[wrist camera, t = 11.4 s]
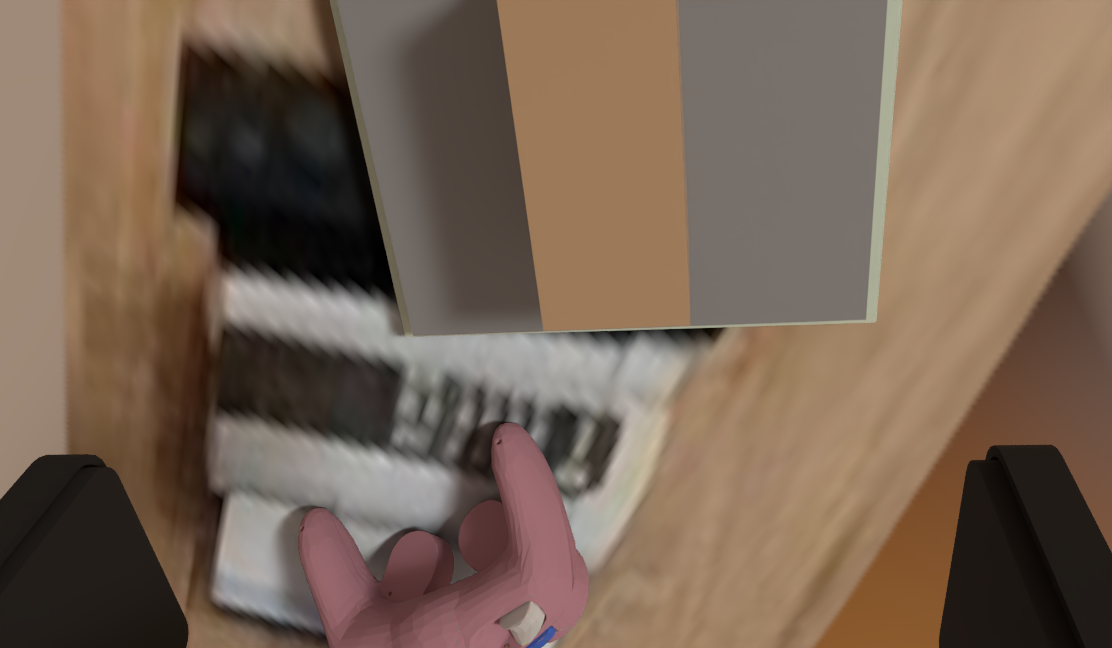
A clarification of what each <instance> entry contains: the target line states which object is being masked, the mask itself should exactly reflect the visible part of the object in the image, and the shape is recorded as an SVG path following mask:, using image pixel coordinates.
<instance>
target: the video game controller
mask: <svg viewBox="0 0 1112 648" xmlns="http://www.w3.org/2000/svg"><path fill="white" fill-rule="evenodd" d="M491 456H492V469H493V472H494V476H495V479H496V483H497V486H498V490H499V493H500V497H501V500H502V503H500V502H498V501H495V500H488V501H484V502H482V503H480V504H478V505H476V506H475V507H474V508H473V509H472V510H471V511H470V512H469V513H468V514H467V515H466V517H465V518H464V520H463V522H462V524H461V526H460V531H459V548H460V552H461V554H462V556H463V558H464V560H465V561H466V563H467V564H468V565H469V566H470V567H472V568H473V569H475V570H476V571H478V573H476V574H474V575H472V576H470V577H467V578H465V579H463V580H460V581H458V582H456V583H453V584H451V585H450V582H451V579H452V575H453V570H454V557H453V553H452V550H451V548H450V546H449V544H448V543H447V542H446V541H445V540H443V539H442V538H440V537H437V536H435V535H433V534H430V533H427V532H424V531H413V532H410V533H408V534H406V535H405V536H403V537H401V539H400V540H399V541H398V542H397V544H396V545H395V546H394V548H393V550H392V553H391V555H390V558H389V561H388V565H387V568H386V571H385V574H384V576H383V579H382V581H381V582H380V581H378V580H377V579H376V578H375V577H374V576H373V574H372V573H371V571H370V569H369V568H368V566H367V565H366V563H365V561H364V559H363V557H362V555H361V553H360V551H359V549H358V547H357V545H356V543H355V541H354V539H353V538H352V537H351V535H350V534H349V532H348V531H347V529H346V528H345V527H344V525H343V524H342V522H341V521H340V520H339V519H338V518H337V517H336V516H335V515H334V514H332V513H331V512H329V511H328V510H327V509H325V508H313V509H312V510H310V511H308V512H307V513H306V515H305V516H304V518H303V520H302V523H301V525H300V530H299V536H298V544H299V554H300V559H301V562H302V566H303V569H304V572H305V575H306V578H307V581H308V584H309V586H310V589H311V592H312V595H313V598H314V600H315V603H316V606H317V609H318V611H319V615H320V618H321V621H322V624H323V627H324V631H325V634H326V637H327V640H328V643H329V647H330V648H541V647H542V646H544V645H545V644H546V643H551V642H553V641H555V640H557V639H559V638H561V637H562V636H564V635H565V634H566V633H567V632H568V631H570V630H571V629H572V628H573V627H574V626H575V624H576V623H577V621H578V620H579V618H580V617H581V615H582V613H583V610H584V608H585V606H586V602H587V598H588V590H589V579H588V572H587V567H586V565H585V562H584V560H583V557H582V556H581V555H580V553H579V552H578V551H577V549H576V547H575V541H574V537H573V534H572V531H571V527H570V524H569V520H568V517H567V514H566V510H565V507H564V504H563V500H562V497H561V494H560V492H559V489H558V487H557V484H556V481H555V479H554V476H553V474H552V472H551V470H550V468H549V465H548V463H547V461H546V459H545V457H544V455H543V454H542V452H541V450H540V449H539V447H538V446H537V444H536V443H535V441H534V440H533V438H532V437H531V436H530V435H529V434H528V433H527V432H526V431H525V430H524V428H523V427H522V426H520V425H519V424H517V423H504V424H501V425H499V426H498V427H497V428H496V430H495V433H494V436H493V440H492V448H491Z"/></svg>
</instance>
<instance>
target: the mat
mask: <svg viewBox="0 0 1112 648" xmlns="http://www.w3.org/2000/svg"><path fill="white" fill-rule="evenodd" d="M329 1H330V5H331V9H332V14H333V18H334V23H335V27H336V32H337V36H338V41H339V45H340V50H341V54H342V58H343V63H344V67H345V72H346V76H347V81H348V85H349V90H350V94H351V98H352V103H353V107H354V112H355V116H356V121H357V125H358V130H359V134H360V138H361V143H362V147H363V152H364V156H365V161H366V165H367V170H368V174H369V179H370V183H371V187H372V192H373V196H374V201H375V205H376V210H377V214H378V219H379V223H380V227H381V232H382V236H383V241H384V245H385V250H386V254H387V259H388V263H389V267H390V272H391V276H392V281H393V285H394V290H395V294H396V299H397V303H398V307H399V312H400V316H401V321H402V325H403V330H404V334H405V337H420V336H413V333H412V329H411V325H410V320H409V316H408V311H407V307H406V302H405V298H404V294H403V289H402V285H401V280H400V276H399V272H398V267H397V263H396V258H395V254H394V250H393V245H392V241H391V236H390V232H389V228H388V223H387V219H386V214H385V210H384V206H383V201H382V197H381V192H380V188H379V183H378V179H377V175H376V170H375V166H374V161H373V157H372V153H371V148H370V144H369V139H368V135H367V131H366V126H365V122H364V117H363V113H362V109H361V104H360V100H359V95H358V91H357V86H356V82H355V78H354V73H353V69H352V64H351V60H350V56H349V51H348V47H347V42H346V38H345V34H344V29H343V25H342V20H341V16H340V12H339V7H338V3H337V0H329ZM902 1H903V0H888V1H887V16H886V31H885V46H884V61H883V75H882V90H881V105H880V120H879V135H878V149H877V164H876V179H875V194H874V209H873V224H872V238H871V253H870V268H869V283H868V298H867V312H866V320H844V321H817V322H789V323H762V324H734V325H707V326H679V327H652V328H624V329H597V330H570V331H542V332H515V333H487V334H518V333H550V332H583V331H615V330H648V329H680V328H713V327H745V326H778V325H810V324H843V323H875V322H876V318H877V306H878V294H879V281H880V269H881V257H882V245H883V233H884V220H885V208H886V196H887V184H888V172H889V159H890V147H891V135H892V123H893V111H894V98H895V86H896V74H897V62H898V50H899V37H900V25H901V13H902ZM460 335H485V334H460ZM432 336H452V335H432Z"/></svg>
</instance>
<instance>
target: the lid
mask: <svg viewBox="0 0 1112 648" xmlns="http://www.w3.org/2000/svg"><path fill="white" fill-rule="evenodd" d="M887 1H888V0H337V3H338V7H339V12H340V16H341V20H342V25H343V29H344V34H345V38H346V42H347V47H348V51H349V56H350V60H351V64H352V69H353V73H354V78H355V82H356V86H357V91H358V95H359V100H360V104H361V109H362V113H363V117H364V122H365V126H366V131H367V135H368V139H369V144H370V148H371V153H372V157H373V161H374V166H375V170H376V175H377V179H378V183H379V188H380V192H381V197H382V201H383V206H384V210H385V214H386V219H387V223H388V228H389V232H390V236H391V241H392V245H393V250H394V254H395V258H396V263H397V267H398V272H399V276H400V280H401V285H402V289H403V294H404V298H405V302H406V307H407V311H408V316H409V320H410V325H411V329H412V333H413V336H432V335H460V334H487V333H515V332H542V331H570V330H597V329H624V328H652V327H679V326H707V325H734V324H762V323H789V322H817V321H844V320H866V312H867V298H868V283H869V268H870V253H871V238H872V224H873V209H874V194H875V179H876V164H877V149H878V135H879V120H880V105H881V90H882V75H883V61H884V46H885V31H886V16H887Z"/></svg>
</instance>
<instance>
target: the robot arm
mask: <svg viewBox="0 0 1112 648" xmlns="http://www.w3.org/2000/svg"><path fill="white" fill-rule="evenodd" d="M187 641H188V624H187V621H186V618H185V616H184V614H183V612H182V610H181V607H180V605H179V603H178V601H177V599H176V597H175V595H174V593H173V591H172V588H171V586H170V584H169V582H168V580H167V578H166V576H165V574H164V571H163V569H162V567H161V565H160V563H159V561H158V559H157V557H156V555H155V552H154V550H153V548H152V546H151V544H150V542H149V540H148V538H147V535H146V533H145V531H144V529H143V527H142V525H141V523H140V521H139V519H138V516H137V514H136V512H135V510H134V508H133V506H132V504H131V502H130V500H129V497H128V495H127V493H126V491H125V489H124V487H123V485H122V483H121V480H120V478H119V476H118V475H117V473H116V472H115V470H113V469H112V468H110V467H107V466H106V465H105V463H104V462H103V461H102V459H100V458H99V457H97V456H96V455H88V454H86V455H45V456H42V457H39V458H38V459H37V460H35V461H34V462H33V463H32V464H31V465H30V466H29V467H28V469H27V470H26V471H25V472H24V473H23V474H22V475H21V476H20V478H19V479H18V480H17V481H16V482H15V483H14V485H13V486H12V487H11V488H10V489H9V490H8V491H7V493H6V494H5V495H4V496H3V497H2V499H0V648H186V646H187ZM939 648H1112V553H1111V551H1110V549H1109V547H1108V545H1107V543H1106V541H1105V539H1104V537H1103V535H1102V533H1101V531H1100V529H1099V527H1098V525H1097V523H1096V521H1095V519H1094V517H1093V516H1092V513H1091V512H1090V510H1089V508H1088V506H1087V504H1086V502H1085V500H1084V498H1083V496H1082V494H1081V492H1080V490H1079V488H1078V486H1077V484H1076V482H1075V480H1074V478H1073V476H1072V474H1071V472H1070V471H1069V469H1068V467H1067V465H1066V463H1065V461H1064V459H1063V457H1062V455H1061V453H1060V452H1059V451H1058V449H1057V448H1056V447H1054V446H1053V445H999V446H997V445H996V446H991V447H990V449H989V450H988V452H987V455H986V459H985V460H972V461H970V462H969V464H968V466H967V471H966V476H965V482H964V488H963V494H962V501H961V506H960V513H959V519H958V525H957V532H956V537H955V543H954V549H953V555H952V562H951V568H950V574H949V580H948V586H947V592H946V598H945V605H944V611H943V616H942V623H941V629H940V636H939Z"/></svg>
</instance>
